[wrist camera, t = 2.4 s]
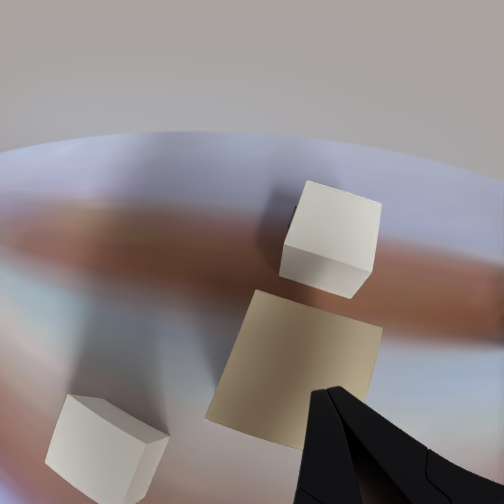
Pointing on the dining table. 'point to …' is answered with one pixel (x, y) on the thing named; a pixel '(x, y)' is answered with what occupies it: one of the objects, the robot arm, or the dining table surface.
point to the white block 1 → (105, 450)
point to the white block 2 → (331, 240)
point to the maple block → (290, 367)
